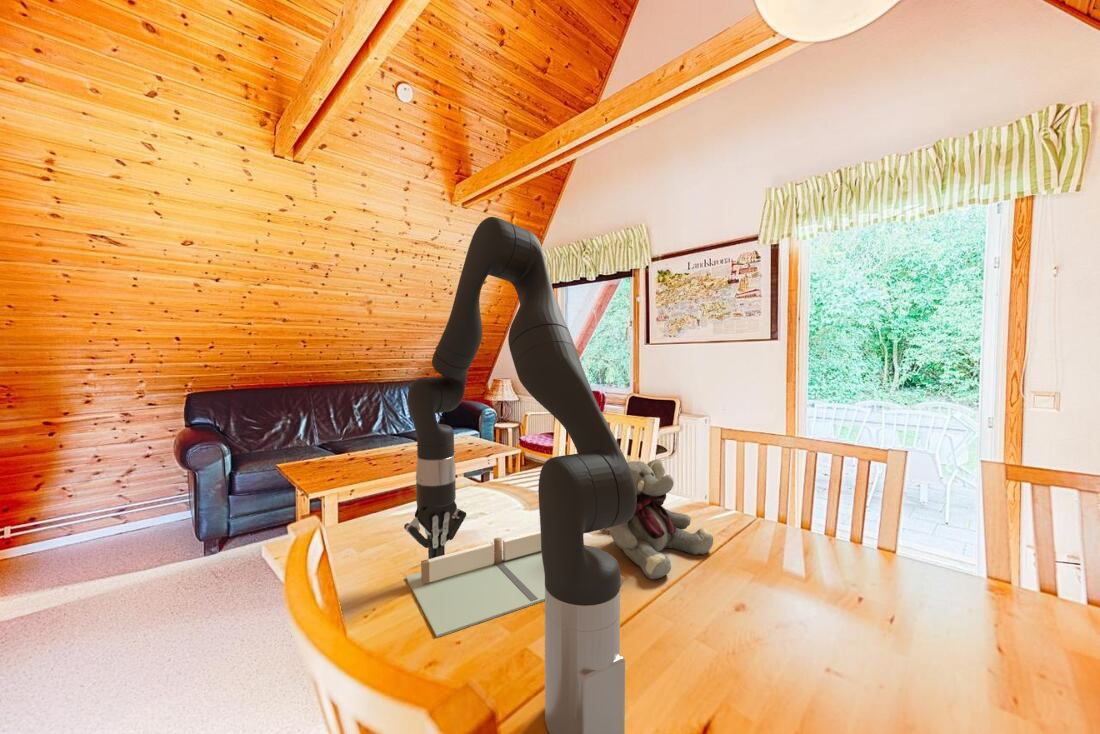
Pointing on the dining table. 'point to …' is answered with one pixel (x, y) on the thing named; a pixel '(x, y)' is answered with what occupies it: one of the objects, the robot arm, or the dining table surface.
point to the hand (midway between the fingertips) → (436, 563)
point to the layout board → (480, 593)
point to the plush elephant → (656, 523)
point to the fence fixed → (516, 546)
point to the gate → (456, 563)
